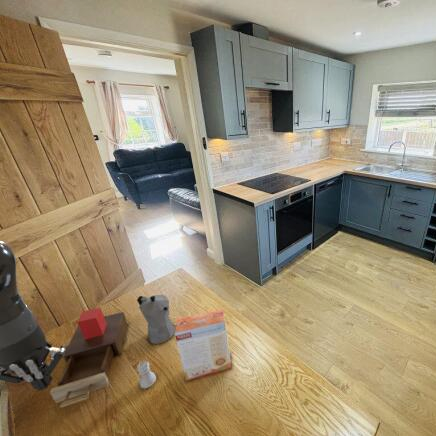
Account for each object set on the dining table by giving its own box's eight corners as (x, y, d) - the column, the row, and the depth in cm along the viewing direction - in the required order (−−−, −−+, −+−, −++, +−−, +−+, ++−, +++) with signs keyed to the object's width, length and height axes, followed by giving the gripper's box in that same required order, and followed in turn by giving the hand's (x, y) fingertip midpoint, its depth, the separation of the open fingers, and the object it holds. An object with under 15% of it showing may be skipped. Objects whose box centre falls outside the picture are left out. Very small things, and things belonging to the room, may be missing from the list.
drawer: (104, 400, 68) (99, 389, 67) (49, 419, 64) (42, 408, 62) (118, 349, 83) (114, 339, 81) (74, 361, 79) (69, 351, 77)
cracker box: (229, 353, 84) (224, 307, 76) (231, 368, 79) (225, 322, 70) (187, 364, 80) (176, 317, 71) (185, 381, 74) (173, 333, 66)
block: (85, 339, 80) (77, 322, 77) (89, 328, 84) (82, 311, 81) (102, 335, 82) (95, 317, 79) (106, 324, 86) (100, 307, 83)
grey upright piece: (184, 330, 92) (176, 293, 85) (164, 350, 84) (153, 311, 77) (156, 317, 98) (147, 282, 91) (134, 335, 90) (122, 298, 83)
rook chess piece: (151, 389, 72) (145, 372, 69) (136, 389, 72) (130, 371, 69) (159, 375, 76) (154, 358, 73) (145, 374, 76) (139, 357, 73)
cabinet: (119, 355, 82) (114, 342, 79) (70, 370, 77) (62, 356, 74) (127, 324, 94) (123, 311, 92) (85, 335, 89) (79, 322, 87)
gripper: (60, 310, 54) (85, 361, 61) (-21, 328, 49) (16, 381, 56) (44, 336, 48) (74, 390, 55) (-51, 359, 43) (-5, 415, 50)
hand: (44, 385), depth 55 cm, fingers closed
